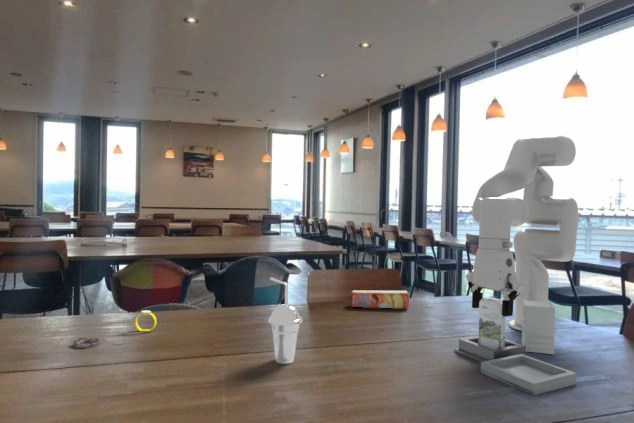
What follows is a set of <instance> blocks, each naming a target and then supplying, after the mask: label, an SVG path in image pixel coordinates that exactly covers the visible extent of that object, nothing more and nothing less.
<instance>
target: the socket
mask: <svg viewBox="0 0 634 423" xmlns="http://www.w3.org/2000/svg"><path fill="white" fill-rule="evenodd" d="M453 352H454V353H456V354H458V355H461V356H463V357H466V358H469V359H471V360H474V361H477V362H479V363H481V362H484V361H489V360H494V359H499V358H504V357H509V356H513V355H518V354H524V355H526V346H525V345H522V343H519V342H515V341H513V340H509V339H506V338H505V347H503V348H498V349H491V348H488V347H486V346H483V345H480V344H478V335H475V336H469V337H462V338H458V347H456V348H454V351H453ZM526 356H527V355H526Z"/></svg>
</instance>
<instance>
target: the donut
mask: <svg viewBox="0 0 634 423" xmlns="http://www.w3.org/2000/svg"><path fill="white" fill-rule="evenodd" d="M99 343H100V342H99V338H91V337H83V338H82V337H80V338H78V339H77V340H73V347H74V349H77V350H79V349H80V350H81V349H90V348H95V347H97V346H99V345H100V344H99Z"/></svg>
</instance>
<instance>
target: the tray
mask: <svg viewBox="0 0 634 423" xmlns="http://www.w3.org/2000/svg"><path fill="white" fill-rule="evenodd" d="M480 373H481V374H482V375H485V376H487V377H490V378H491V379H494V380H496V381H498V382H501V383H504V384H505V385H508V386H510V387H512V388H515V389H517V390H519V391H523V392H524V393H527V394H529V395H531V396H533V397H534V396H535V397H536V396H538V395H541V394H546V393H548V392H553V391H556V390H559V389H563V388H566V387H567V388H568V387H570V386H574V385H577V372H574V371H572V370H569V369H566V368H563V367H561V366H557V365H555V364H552V363H549V362H547V361H546V362H545V361H543V360H540V359H537V358H534V357H532V356H529V355H524V354H518V355H513V356H509V357H504V358H499V359H494V360H489V361H484V362H480Z"/></svg>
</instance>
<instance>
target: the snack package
mask: <svg viewBox="0 0 634 423" xmlns="http://www.w3.org/2000/svg"><path fill="white" fill-rule="evenodd" d="M350 306H351V308H353V307H362V308H363V309H382V308H391V309H390V310H407V309H408V308H409V306H410V295H409V292H408V291H407V290H374V289H373V290H369V289H367V290H362V289H361V290H357V289H356V290H355V289H353V290H352V291H351V293H350ZM362 308H361V309H362Z"/></svg>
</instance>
